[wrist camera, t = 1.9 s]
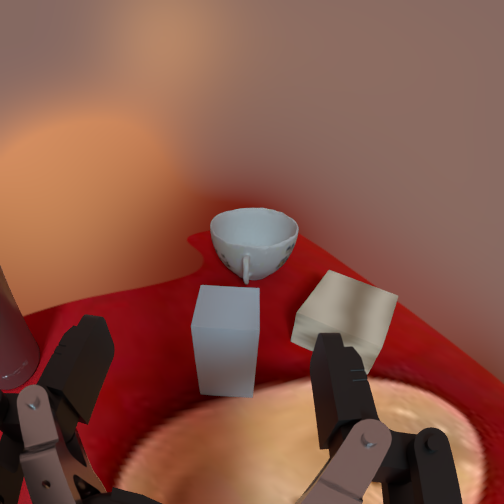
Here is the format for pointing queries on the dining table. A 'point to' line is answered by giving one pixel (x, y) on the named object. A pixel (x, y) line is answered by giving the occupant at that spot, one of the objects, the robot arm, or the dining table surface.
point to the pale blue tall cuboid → (226, 340)
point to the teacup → (253, 241)
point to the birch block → (346, 315)
